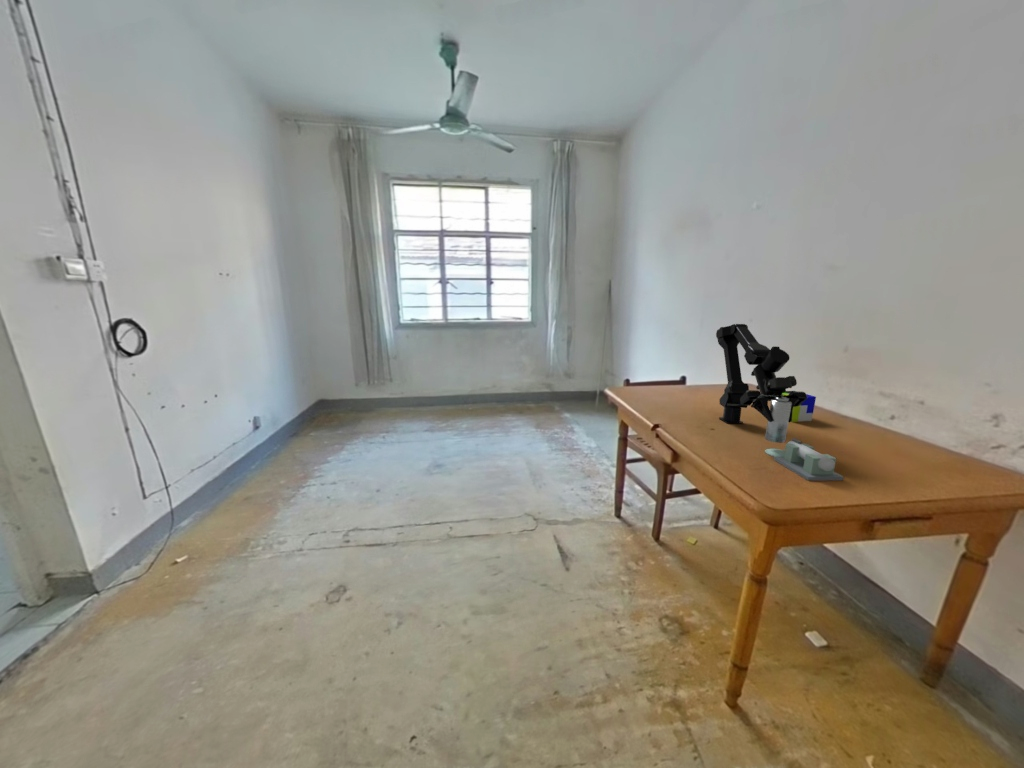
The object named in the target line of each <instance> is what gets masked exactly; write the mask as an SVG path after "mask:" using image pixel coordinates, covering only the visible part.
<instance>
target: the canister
mask: <svg viewBox="0 0 1024 768" xmlns="http://www.w3.org/2000/svg"><path fill="white" fill-rule="evenodd" d="M769 405H770V406H769V410H770V413H771V416H772V422H769V421H768V420H767V425H766V429H765V430H766V431H765V437H764V439H765V440H767V441H768V442H773V443H776V444H778V443H779V444H783V443H785V442H786V440H787V439H786V438H787V434H788V433H787V432H788V427H789V416H790V411H791V405H792V402H791V401H789V398H786V397H779V396H777V397H775V399H771V401H770V404H769Z"/></svg>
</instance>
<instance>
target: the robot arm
mask: <svg viewBox="0 0 1024 768" xmlns="http://www.w3.org/2000/svg"><path fill="white" fill-rule="evenodd" d="M715 336H716V339H717V343H718V345H719V346H720V347H721V348H722V350H723V354H724V361H725V368H726V369H725V371H726V378H727V384H726V386H725V388H724V389H723V390H724V391H723V394H722V395H721V397H720V398H719V405H720V406H722V407H723V415H722V416H721V417H718V419H719V420H721V421H722V422H724V423H726V424H744V421H742V420H741V415H742V408H744V409H747V408H748V406H750V407H751V408H753V409H754V410H756V411H757V412H759V414H760V415H762V416H763V417H764V418H765V419H766V420H767V422H768V421H769V422H772V416H771V413H770V406H769V404H768V402H771V399H775V397H777V396H779V397H786V398H789V401H791V402H792V405H791V411H790V416H789V422H788V424H789V423H792V422H791V421H792V412H793V407H797V406H799V405H801V404H802V403H803V402H804V401H805V400H807V399H808V397H807V395H806V394H807V393H806V392H805V391H800V390H799V391H796V390H791V391H792V392H791V393H790V394H789V395H782V393H785V392H786V391H787V390H786V389H792V387H795V386H797V384H798V381H797V379H796V377H795V375H788V376H786V377H785V376H784V377H783V376H782V377H781V376H780V377H777V375H776V373H777V372H779V371H781V369H782V368H783V367H785V365H786V364H787V363H788V362H789V361H790V355H789V353H788V352H786V351H785V350H783V349H781V348H780V346H775V345H774V346H772V347H771V348H768V346H766V345H764V344H761V343H759V341H758V340H757V338H756V337H755V336H754V335H753V334H752V332H751V331H750V330H749V327H748V325H747V324H745V323H733V324H731V325H728V326H721V327H720V328H719V329H717V330H716V333H715ZM739 344H740V346H741V347H742V348H743V350H744V351H745V353H744V355H743V356H744V359H745V361H746V364H747V365H749V366H755V367H753V370H752V371H751V373H750V375H751V376H752V377H753V376H754V377H755V379H756V383H757V385H756V387H755V388H756V390H753V389H751V390H750V388H749V387H750V386H749V384H748V383H745V382H743V380H742V373H741V372H742V371H741V365H740V358H739V350H738V345H739Z"/></svg>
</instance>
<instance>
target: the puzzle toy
mask: <svg viewBox="0 0 1024 768" xmlns="http://www.w3.org/2000/svg"><path fill="white" fill-rule="evenodd" d="M792 391H793V390H786V392H785V393H782V395H789V394H790V393H791V392H792ZM806 395H807V397H808V399H807V400H805V401H804V402H803V403H802V404H801V405H799V406H797V407H793V412H792V421H791V422H790V423H794V422H795V423H797V422H811V421H812V420H813V415H814V409H815V405H816V400H817V399H816V398H817V396H815V395H812V394H807V393H806Z"/></svg>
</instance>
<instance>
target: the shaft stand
mask: <svg viewBox="0 0 1024 768" xmlns="http://www.w3.org/2000/svg"><path fill="white" fill-rule="evenodd" d="M784 450H785V452H784V457H773V461H775V462H777V463H778V464H780V465H781V466H783V467H785V468H786V469H788V470H790V471H792V472H793V473H795V474H796V475H798V476H800V477H801V478H803V479H805V480H806V481H808V482H810V481H811V482H812V481H814V482H815V481H817V482H818V481H844V478H845V477H844V476H843V475H841V474H839V473H838V472H835V467H836V462H837V458H836V457H835V456H832V455H830V454H828V453H820V452H818V451H816V450H815V446H812V445H810V444H809V443H802V441H801V440H799V439H797V438H795V437H792V438H791V440H790V441H788V442H787V443H786V444H785V447H784Z"/></svg>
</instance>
